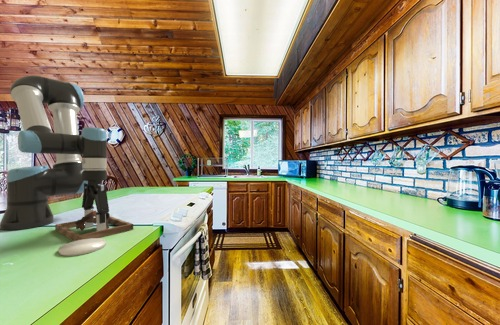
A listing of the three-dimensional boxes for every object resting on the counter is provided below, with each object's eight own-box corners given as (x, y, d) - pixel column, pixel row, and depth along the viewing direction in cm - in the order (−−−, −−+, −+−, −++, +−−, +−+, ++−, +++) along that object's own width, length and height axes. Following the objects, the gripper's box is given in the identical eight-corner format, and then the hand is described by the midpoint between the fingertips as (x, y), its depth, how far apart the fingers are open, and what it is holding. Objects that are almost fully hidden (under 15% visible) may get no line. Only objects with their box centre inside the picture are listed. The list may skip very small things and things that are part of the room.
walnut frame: (55, 229, 83) (55, 224, 83) (107, 220, 97) (107, 215, 97) (76, 243, 70) (76, 236, 70) (133, 229, 84) (133, 224, 84)
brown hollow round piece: (100, 236, 78) (85, 216, 76) (79, 246, 79) (65, 227, 78) (121, 218, 89) (109, 201, 88) (103, 228, 91) (90, 211, 89)
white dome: (53, 249, 65) (53, 246, 65) (97, 238, 73) (97, 235, 73) (65, 259, 58) (65, 255, 58) (112, 246, 67) (112, 243, 67)
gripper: (71, 169, 87) (71, 226, 87) (95, 170, 73) (95, 238, 73) (93, 169, 93) (94, 222, 93) (119, 169, 79) (120, 232, 79)
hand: (94, 229), depth 83 cm, fingers open, 10 cm apart
